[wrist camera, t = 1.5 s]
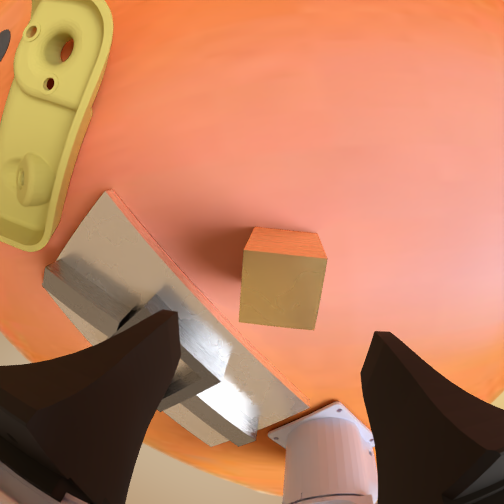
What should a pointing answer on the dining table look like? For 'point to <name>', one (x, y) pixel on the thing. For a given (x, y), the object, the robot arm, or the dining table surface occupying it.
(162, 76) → the dining table surface
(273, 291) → the tan small block
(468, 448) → the robot arm
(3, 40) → the sundae
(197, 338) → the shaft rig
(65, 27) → the plastic component
